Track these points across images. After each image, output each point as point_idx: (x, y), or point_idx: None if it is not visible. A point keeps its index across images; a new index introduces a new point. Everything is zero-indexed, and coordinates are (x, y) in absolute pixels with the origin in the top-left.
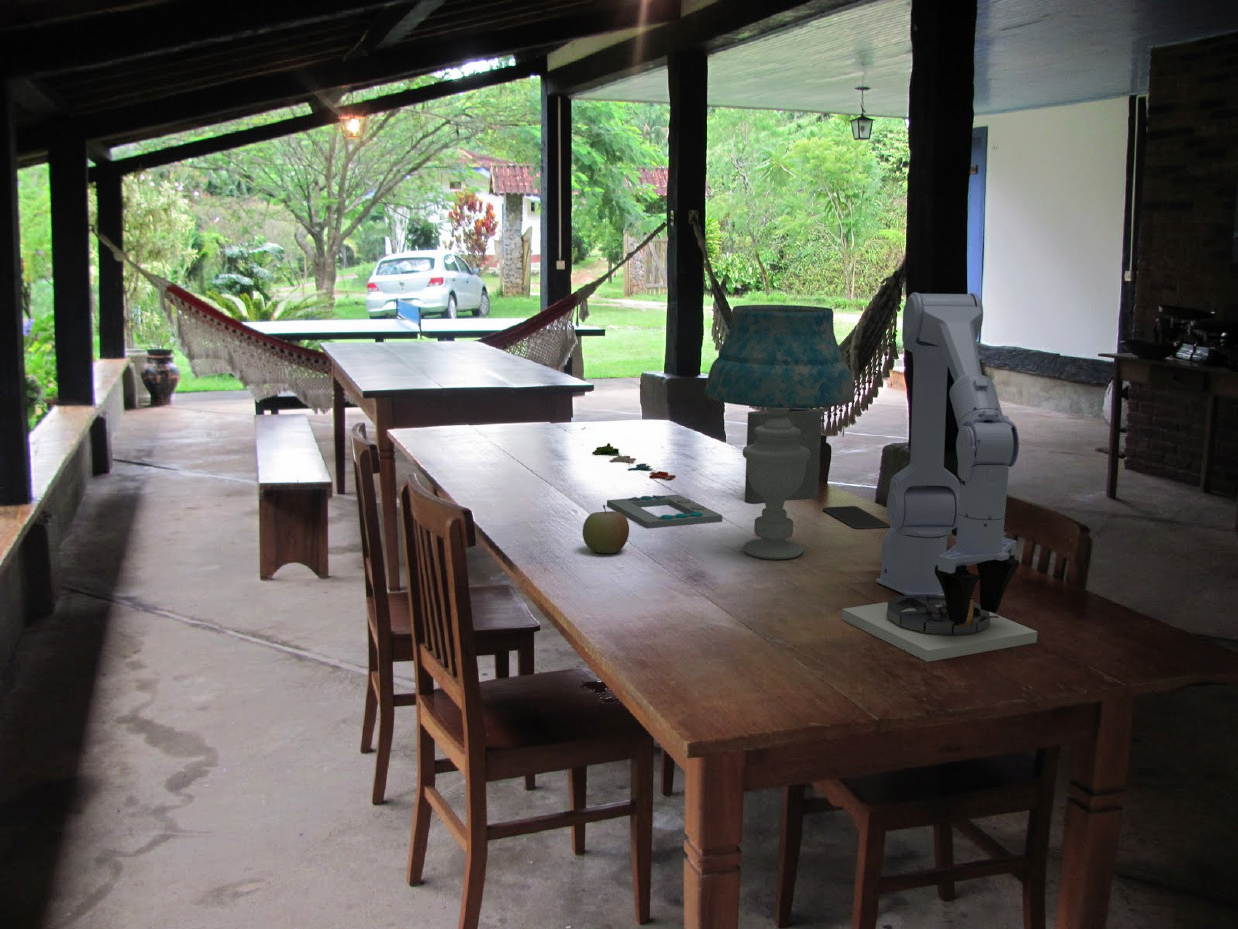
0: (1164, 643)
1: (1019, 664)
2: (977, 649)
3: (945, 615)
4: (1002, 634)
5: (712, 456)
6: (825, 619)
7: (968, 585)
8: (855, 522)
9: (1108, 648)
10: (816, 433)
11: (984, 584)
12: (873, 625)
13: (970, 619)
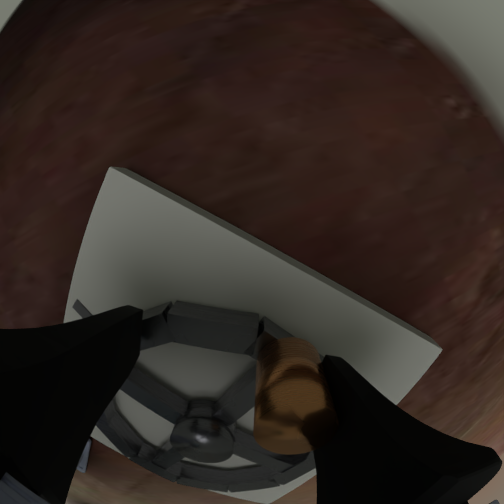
0: (33, 18)
1: (336, 146)
2: (322, 276)
3: (237, 415)
4: (204, 244)
5: None
6: (281, 497)
7: (465, 444)
8: None
9: (84, 42)
10: None
11: (94, 407)
12: None
13: (305, 352)
